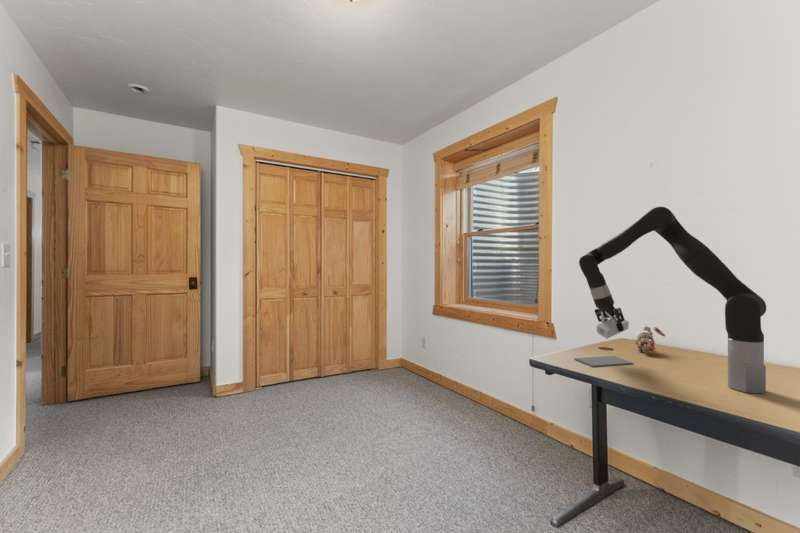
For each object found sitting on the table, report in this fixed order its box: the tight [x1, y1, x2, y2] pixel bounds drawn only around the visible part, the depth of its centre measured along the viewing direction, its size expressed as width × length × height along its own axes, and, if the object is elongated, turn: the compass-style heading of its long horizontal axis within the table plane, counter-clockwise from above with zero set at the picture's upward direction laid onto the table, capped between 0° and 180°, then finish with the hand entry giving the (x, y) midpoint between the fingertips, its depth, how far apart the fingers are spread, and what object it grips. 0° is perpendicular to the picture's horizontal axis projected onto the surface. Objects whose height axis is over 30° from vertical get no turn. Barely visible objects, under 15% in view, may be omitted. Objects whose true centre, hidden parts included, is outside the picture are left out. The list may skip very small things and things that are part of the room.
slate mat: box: [574, 355, 634, 368], centre depth 165 cm, size 20×12×1 cm, turn 99°
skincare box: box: [596, 317, 630, 339], centre depth 165 cm, size 6×4×12 cm
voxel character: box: [634, 326, 666, 356], centre depth 179 cm, size 11×10×15 cm
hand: (615, 330), depth 165 cm, fingers closed on skincare box, 7 cm apart
